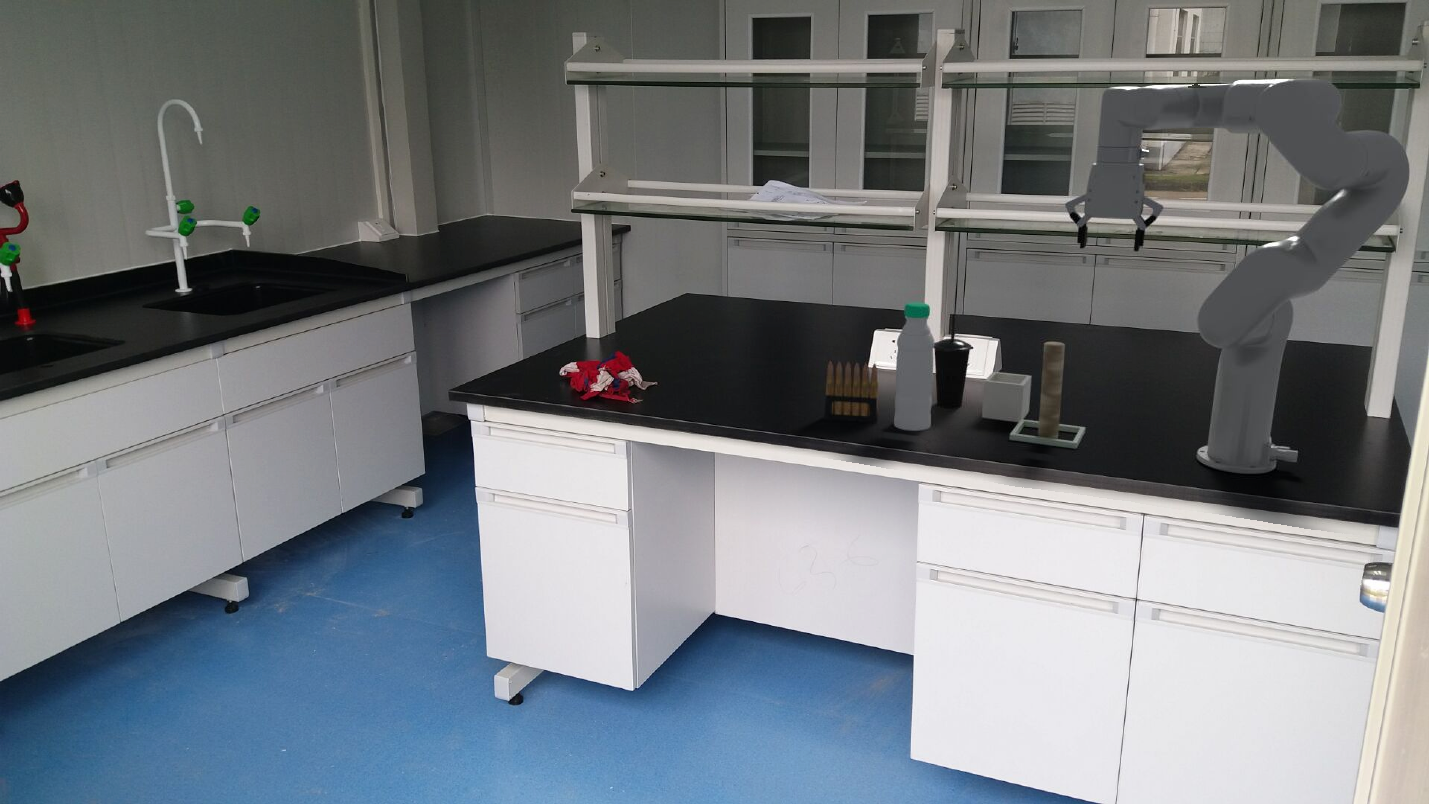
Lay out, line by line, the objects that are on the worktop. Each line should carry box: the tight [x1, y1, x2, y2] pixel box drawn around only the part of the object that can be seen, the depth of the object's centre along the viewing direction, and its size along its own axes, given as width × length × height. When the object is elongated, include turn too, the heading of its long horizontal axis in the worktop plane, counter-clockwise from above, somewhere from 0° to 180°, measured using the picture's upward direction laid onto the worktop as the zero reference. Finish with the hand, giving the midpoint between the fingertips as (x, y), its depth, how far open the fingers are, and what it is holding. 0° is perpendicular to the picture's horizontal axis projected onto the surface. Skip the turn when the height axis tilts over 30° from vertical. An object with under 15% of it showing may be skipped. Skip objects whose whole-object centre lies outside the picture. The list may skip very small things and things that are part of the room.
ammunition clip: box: [823, 360, 879, 424], centre depth 211 cm, size 11×2×12 cm, turn 75°
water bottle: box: [893, 302, 936, 432], centre depth 202 cm, size 7×7×25 cm
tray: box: [1009, 419, 1086, 449], centre depth 198 cm, size 12×10×2 cm
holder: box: [981, 371, 1032, 423], centre depth 210 cm, size 8×8×8 cm
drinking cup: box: [933, 313, 973, 409], centre depth 215 cm, size 8×8×20 cm
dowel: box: [1037, 341, 1066, 439], centre depth 195 cm, size 4×4×18 cm
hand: (1109, 248), depth 199 cm, fingers open, 9 cm apart
